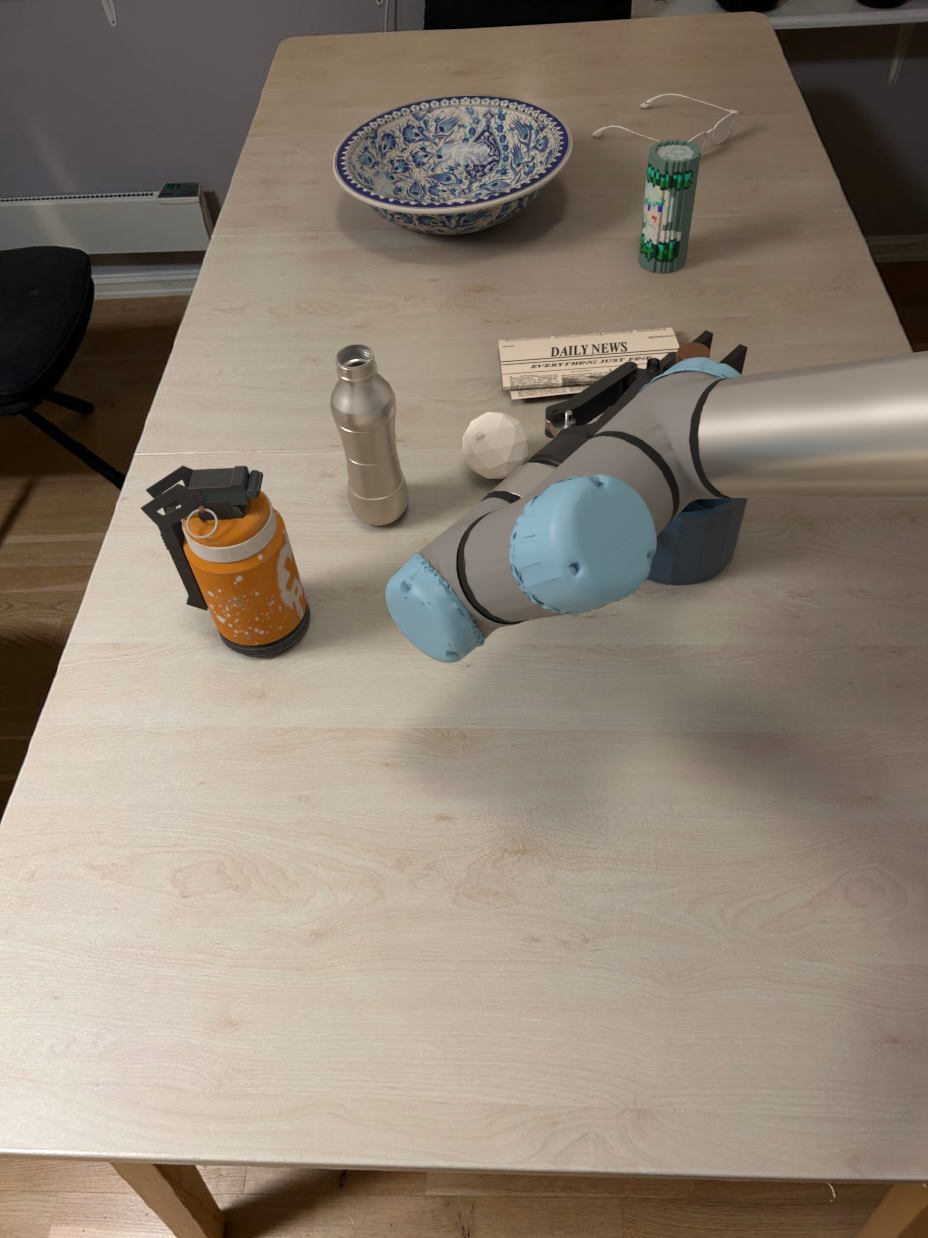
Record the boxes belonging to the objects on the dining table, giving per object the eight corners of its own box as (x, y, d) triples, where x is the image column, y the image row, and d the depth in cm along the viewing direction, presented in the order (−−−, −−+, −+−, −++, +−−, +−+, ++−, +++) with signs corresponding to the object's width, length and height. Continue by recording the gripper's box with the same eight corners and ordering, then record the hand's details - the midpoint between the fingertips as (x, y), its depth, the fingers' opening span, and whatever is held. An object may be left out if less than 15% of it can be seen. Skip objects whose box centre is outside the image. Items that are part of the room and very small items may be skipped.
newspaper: (504, 407, 111) (503, 389, 109) (498, 355, 119) (498, 337, 118) (695, 393, 110) (698, 375, 109) (676, 342, 119) (678, 323, 117)
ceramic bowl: (331, 173, 150) (321, 108, 142) (540, 144, 152) (541, 78, 144) (354, 290, 128) (343, 220, 120) (597, 254, 131) (601, 183, 123)
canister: (306, 658, 89) (259, 509, 74) (192, 663, 90) (121, 515, 74) (315, 587, 95) (272, 434, 79) (207, 592, 95) (144, 440, 80)
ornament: (541, 479, 103) (512, 459, 96) (480, 490, 106) (448, 472, 99) (537, 418, 104) (509, 394, 97) (478, 431, 107) (445, 408, 100)
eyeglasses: (680, 170, 144) (683, 144, 141) (588, 138, 152) (589, 113, 149) (735, 133, 151) (740, 107, 148) (644, 104, 159) (646, 79, 156)
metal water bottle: (345, 531, 99) (311, 377, 84) (358, 488, 104) (328, 332, 88) (404, 535, 99) (381, 380, 83) (415, 491, 103) (395, 335, 87)
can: (630, 261, 129) (640, 151, 117) (659, 244, 131) (672, 134, 120) (664, 277, 126) (678, 166, 114) (693, 260, 128) (709, 149, 117)
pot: (773, 520, 97) (793, 450, 90) (670, 621, 90) (683, 555, 82) (673, 466, 103) (684, 397, 96) (569, 558, 95) (572, 490, 88)
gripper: (478, 493, 76) (643, 355, 87) (639, 584, 69) (796, 422, 80) (474, 420, 70) (651, 282, 81) (650, 511, 63) (818, 347, 74)
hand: (723, 352), depth 80 cm, fingers closed on lid, 3 cm apart
